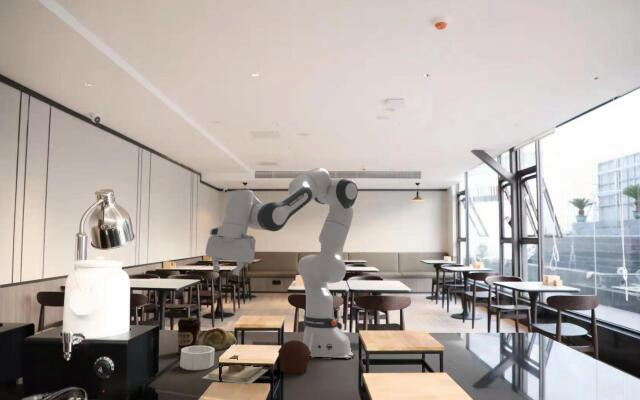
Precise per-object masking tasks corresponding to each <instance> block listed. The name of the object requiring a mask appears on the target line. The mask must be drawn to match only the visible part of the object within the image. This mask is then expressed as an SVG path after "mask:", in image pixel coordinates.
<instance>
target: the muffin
mask: <svg viewBox="0 0 640 400" xmlns="http://www.w3.org/2000/svg"><path fill="white" fill-rule="evenodd" d="M278 350H279V351H277V353H279V354H278V361H279V372H282V373H284V374H288V375H301V374H305V373H307V369H308V364H309V358H310V357H309V356H310V354H311V351H310V350H309V348H308V346H307V345H306V344H304V343H303V341H301V340H295V339H294V340H288V341H287V342H284V343H283V344H282V345H281V346H280V347H279V349H278Z"/></svg>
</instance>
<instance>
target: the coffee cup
mask: <svg viewBox="0 0 640 400" xmlns="http://www.w3.org/2000/svg"><path fill="white" fill-rule="evenodd" d="M200 327H201V321H200V318H199V317H191V316H190V317H180V318H179V320H178V322H177V328H178V330H177V347H178V350H177V351H178V352H177V353H178V354H180V355H181V349H182V348H185V347H189V346H197V342H198V339H199V329H200Z"/></svg>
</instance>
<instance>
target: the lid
mask: <svg viewBox="0 0 640 400" xmlns="http://www.w3.org/2000/svg"><path fill="white" fill-rule="evenodd" d="M238 356H239V355H236V354H234V355H232V356H231V357H229V358H228V360H229V359H237V360H238ZM253 366H254V365H251V366H241V365H229V366H223V367H222V374H221V377H222V379H226V380H233V381H241V382H248V381H249V380H251V379H252V378H253V377H255V376H256V375H257V374H259V373H260V372H261V371H263V369H264V367H263V366H260V367H253ZM208 374H209V376H208V377H211V378H218V379H219V367H217V368H216V369H214V370H212V371H210V372H208Z"/></svg>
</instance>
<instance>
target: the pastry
mask: <svg viewBox="0 0 640 400" xmlns="http://www.w3.org/2000/svg"><path fill="white" fill-rule="evenodd" d="M237 343H238V342H237V338H236V337H235V335H234V333H232V332H229V331H228V330H226V329H224V328H223V329H222V328H219V327H216V328H212V329H208V330H207V331H206V332H205V333H204V335H203V338H202V341H201V346H210V347H213V348H215V350H216V351H222V350H227V349H230V348H229V347H230V346H231V345H233V344H236V345H237Z"/></svg>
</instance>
